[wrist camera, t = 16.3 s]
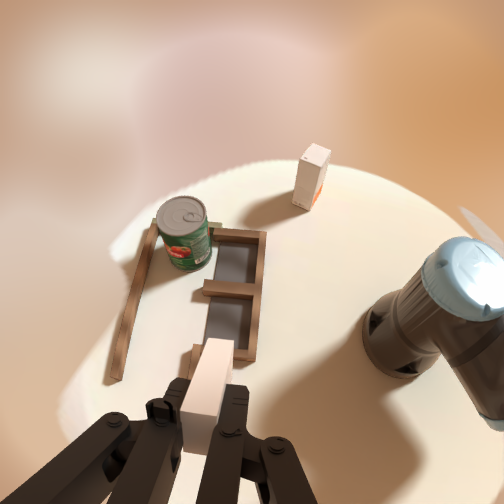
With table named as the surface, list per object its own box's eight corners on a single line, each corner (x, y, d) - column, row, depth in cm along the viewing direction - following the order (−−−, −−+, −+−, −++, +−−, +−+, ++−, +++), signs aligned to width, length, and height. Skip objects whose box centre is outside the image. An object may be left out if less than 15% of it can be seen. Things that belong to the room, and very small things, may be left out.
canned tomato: (163, 266, 54) (147, 229, 45) (178, 231, 58) (167, 191, 49) (204, 276, 53) (196, 239, 44) (218, 239, 57) (213, 199, 48)
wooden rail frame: (251, 401, 42) (251, 400, 40) (115, 379, 43) (109, 376, 41) (266, 233, 58) (267, 226, 56) (155, 225, 59) (153, 218, 57)
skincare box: (310, 212, 61) (320, 167, 51) (291, 203, 62) (298, 158, 52) (321, 193, 64) (332, 150, 54) (303, 185, 65) (311, 141, 55)
